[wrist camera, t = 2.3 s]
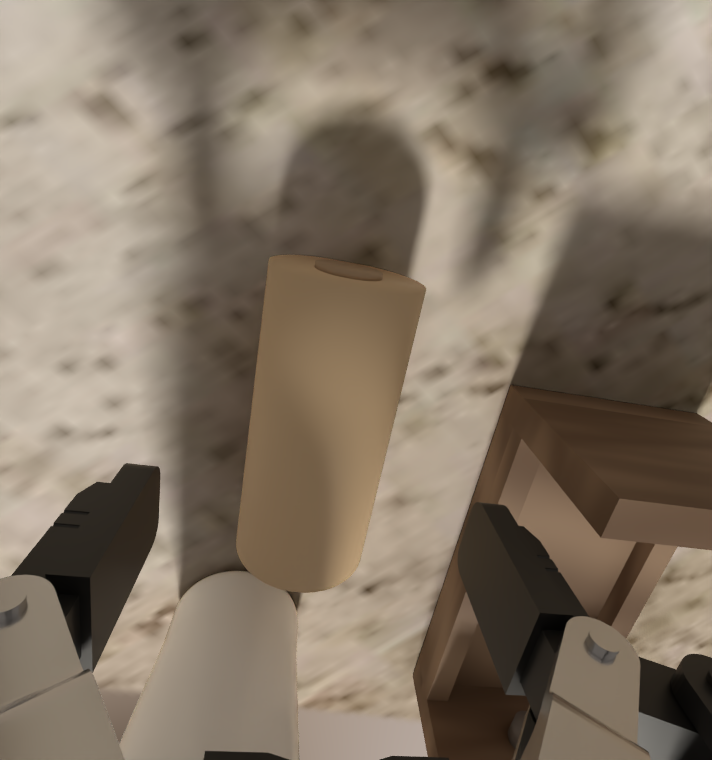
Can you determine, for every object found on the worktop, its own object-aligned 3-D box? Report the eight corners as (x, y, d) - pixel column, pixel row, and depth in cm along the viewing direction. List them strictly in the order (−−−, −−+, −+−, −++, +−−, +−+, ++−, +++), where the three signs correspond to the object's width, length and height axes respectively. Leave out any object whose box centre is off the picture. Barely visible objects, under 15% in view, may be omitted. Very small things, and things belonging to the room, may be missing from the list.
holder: (510, 385, 18) (619, 498, 11) (697, 413, 19) (893, 532, 12) (412, 675, 24) (447, 859, 17) (558, 685, 25) (642, 861, 18)
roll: (276, 243, 15) (259, 265, 11) (411, 268, 16) (444, 298, 12) (246, 500, 19) (224, 589, 15) (356, 512, 20) (365, 601, 15)
